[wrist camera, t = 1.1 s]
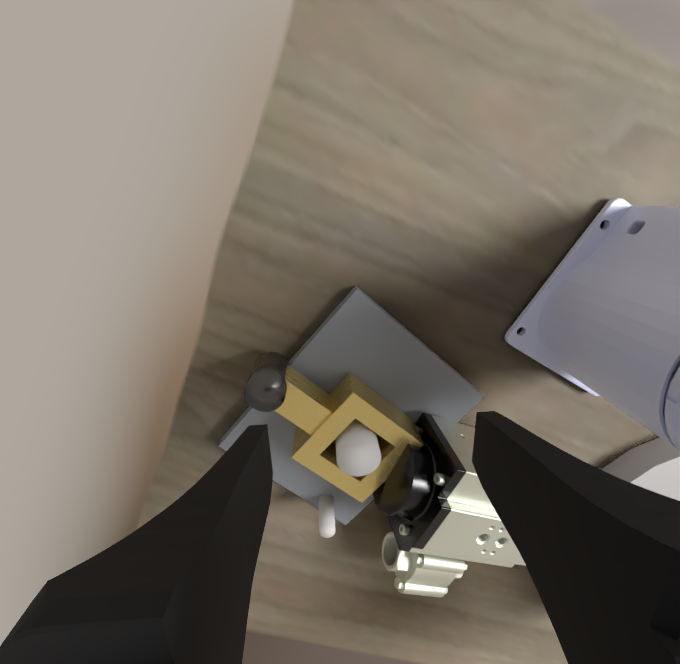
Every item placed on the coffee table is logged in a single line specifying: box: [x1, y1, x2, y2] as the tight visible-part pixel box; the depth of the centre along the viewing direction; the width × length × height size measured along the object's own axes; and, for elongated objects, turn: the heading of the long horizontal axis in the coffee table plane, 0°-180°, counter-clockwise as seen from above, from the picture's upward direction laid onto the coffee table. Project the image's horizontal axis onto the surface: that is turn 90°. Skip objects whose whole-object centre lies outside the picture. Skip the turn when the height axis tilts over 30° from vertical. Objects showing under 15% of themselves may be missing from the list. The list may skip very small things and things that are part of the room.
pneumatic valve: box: [373, 412, 526, 598], centre depth 23 cm, size 6×12×12 cm
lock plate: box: [219, 285, 484, 538], centre depth 22 cm, size 13×10×4 cm
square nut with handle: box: [244, 352, 424, 503], centre depth 20 cm, size 5×10×3 cm, turn 50°
